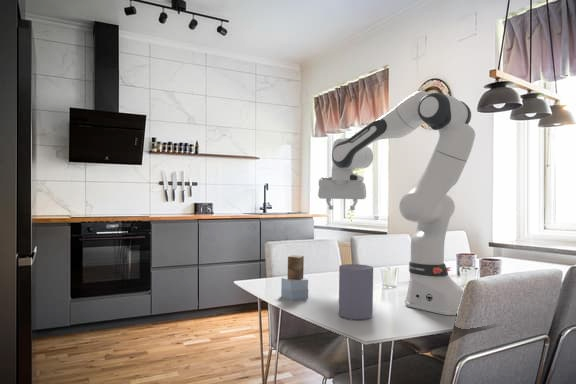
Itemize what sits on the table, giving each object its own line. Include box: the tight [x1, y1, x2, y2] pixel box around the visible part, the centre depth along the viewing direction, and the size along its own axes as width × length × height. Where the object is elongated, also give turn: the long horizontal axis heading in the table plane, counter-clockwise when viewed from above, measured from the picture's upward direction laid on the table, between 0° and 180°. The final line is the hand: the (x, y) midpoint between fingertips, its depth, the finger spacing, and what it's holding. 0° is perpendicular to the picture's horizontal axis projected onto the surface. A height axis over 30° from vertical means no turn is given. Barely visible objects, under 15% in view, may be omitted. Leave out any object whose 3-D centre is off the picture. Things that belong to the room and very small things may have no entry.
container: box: [338, 263, 374, 321], centre depth 131 cm, size 10×10×15 cm
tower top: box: [281, 276, 309, 291], centre depth 154 cm, size 7×7×4 cm
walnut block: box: [287, 254, 305, 280], centre depth 154 cm, size 4×4×8 cm
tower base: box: [280, 287, 309, 301], centre depth 154 cm, size 7×7×4 cm
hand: (341, 209), depth 179 cm, fingers open, 8 cm apart
